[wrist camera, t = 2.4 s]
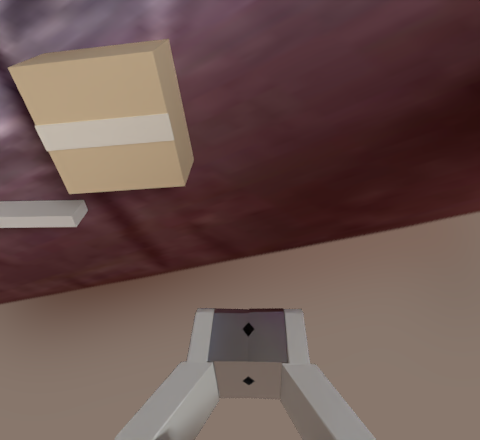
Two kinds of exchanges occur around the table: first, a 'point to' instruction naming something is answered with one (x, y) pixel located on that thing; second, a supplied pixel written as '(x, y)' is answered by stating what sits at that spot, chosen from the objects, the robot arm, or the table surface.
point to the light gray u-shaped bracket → (41, 213)
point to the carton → (109, 116)
